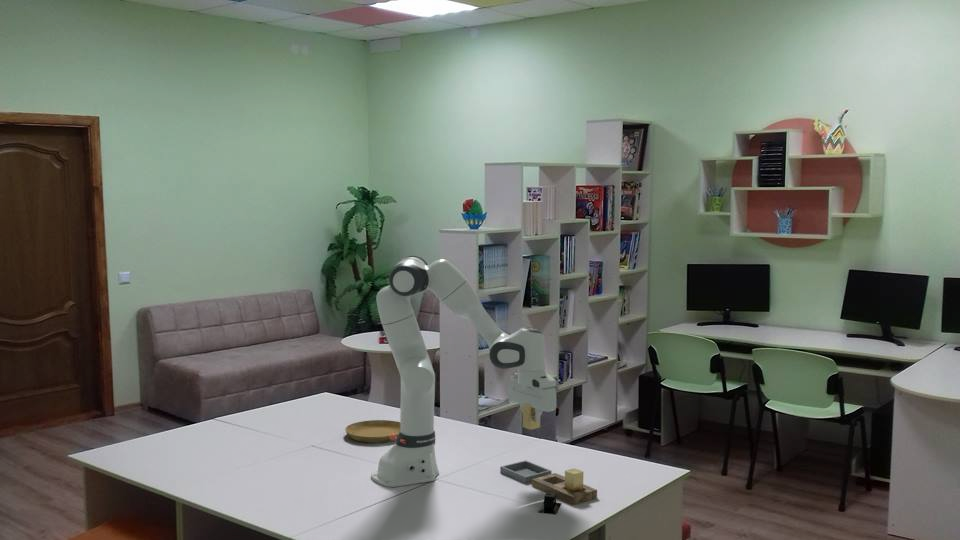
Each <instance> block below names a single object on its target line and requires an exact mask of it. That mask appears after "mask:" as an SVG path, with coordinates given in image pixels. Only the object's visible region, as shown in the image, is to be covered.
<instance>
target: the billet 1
mask: <svg viewBox="0 0 960 540" xmlns="http://www.w3.org/2000/svg"><path fill="white" fill-rule="evenodd" d="M535 415H536V411H535V408H532V407H531V405H529V404H525V403H523V412H522V428H525V429H527V430H531V431H532V430H536V429H541V421H540V422H535V421H534V420H533V419H534V418H533V416H535Z"/></svg>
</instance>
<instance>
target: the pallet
mask: <svg viewBox="0 0 960 540" xmlns="http://www.w3.org/2000/svg"><path fill="white" fill-rule="evenodd" d="M531 487H534V488H536V489H539V490H541V491H544V492H552V493H556V499H559V500H561V501H564V502H565V503H568V504H569V505H573V506H574V505H578V504H581V503H584V502H587V501H591V500H594V498H595V499H597V498H598V489H597V488H594V487H591V486H589V485H586V484H584V483H583V491H579V492H576V493H572V492H570V491H567V490H565V475H561V474H559V473H557V472H553V473H551V474H550V475H546V476H542V477H538V478H535V479H532V482H531Z"/></svg>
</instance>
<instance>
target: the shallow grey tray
mask: <svg viewBox="0 0 960 540" xmlns="http://www.w3.org/2000/svg"><path fill="white" fill-rule="evenodd" d="M499 468H500V472H499V473H500V474H502V475H505V476H507V477H510V478H512V479H514V480H516V481H519V482H521V483H523V484H525V485H526V484H529V483H532V479H535V478H538V477H542V476H546V475H550V474H552V470H551V469H548V468H546V467H544V466H541V465H538V464H536V463H533V462H531V461H528V460H522V461H518V462H513V463H510V464H505V465H501V466H500V467H499Z"/></svg>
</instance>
